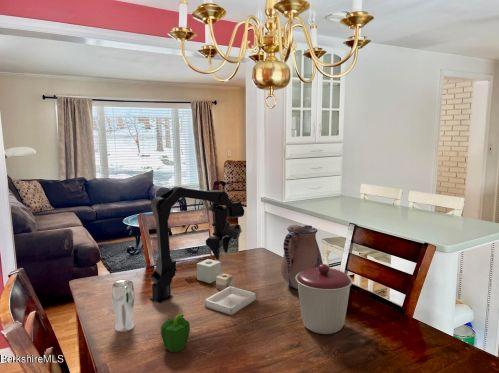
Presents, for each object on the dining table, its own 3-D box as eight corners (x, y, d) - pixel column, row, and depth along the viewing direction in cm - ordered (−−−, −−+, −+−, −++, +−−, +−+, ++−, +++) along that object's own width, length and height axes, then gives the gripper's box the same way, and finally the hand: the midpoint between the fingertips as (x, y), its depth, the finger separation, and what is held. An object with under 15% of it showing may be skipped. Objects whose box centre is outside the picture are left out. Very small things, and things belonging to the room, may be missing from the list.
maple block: (225, 291, 149) (225, 279, 148) (216, 288, 152) (215, 276, 151) (233, 287, 153) (232, 275, 152) (223, 284, 156) (223, 273, 155)
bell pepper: (161, 357, 103) (160, 324, 102) (161, 342, 111) (160, 311, 110) (191, 353, 105) (190, 320, 104) (189, 338, 113) (188, 308, 112)
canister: (287, 333, 115) (288, 269, 113) (303, 309, 132) (304, 253, 129) (346, 346, 108) (347, 278, 105) (355, 319, 124) (356, 259, 122)
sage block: (210, 283, 157) (209, 266, 156) (197, 279, 161) (196, 263, 161) (221, 278, 163) (220, 261, 162) (208, 274, 168) (208, 258, 167)
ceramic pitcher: (328, 282, 157) (329, 225, 154) (310, 301, 139) (311, 237, 136) (291, 275, 166) (291, 221, 163) (269, 291, 148) (269, 231, 145)
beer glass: (113, 324, 123) (111, 281, 121) (135, 320, 125) (133, 278, 123) (113, 334, 116) (111, 289, 114) (136, 330, 118) (134, 286, 117)
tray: (231, 315, 128) (231, 308, 128) (204, 306, 135) (204, 299, 135) (256, 299, 141) (255, 293, 140) (230, 291, 148) (230, 286, 148)
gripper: (230, 226, 142) (231, 265, 144) (245, 216, 159) (247, 250, 161) (204, 225, 145) (206, 262, 147) (222, 215, 163) (223, 248, 165)
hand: (222, 255), depth 155 cm, fingers open, 9 cm apart
